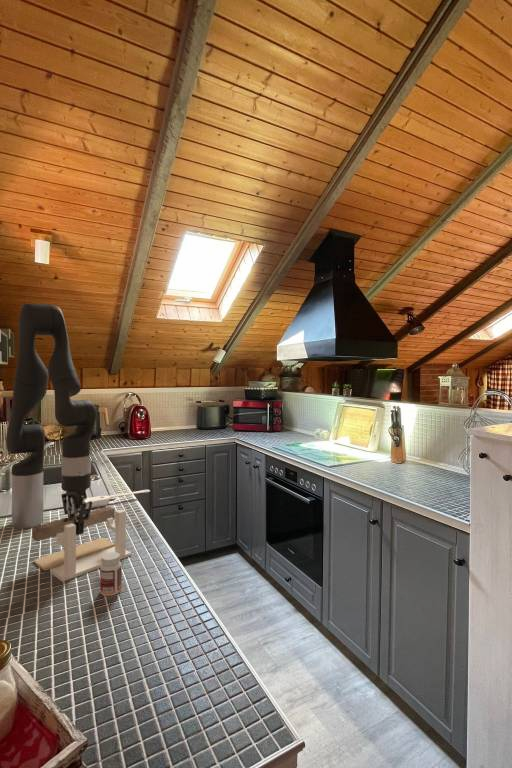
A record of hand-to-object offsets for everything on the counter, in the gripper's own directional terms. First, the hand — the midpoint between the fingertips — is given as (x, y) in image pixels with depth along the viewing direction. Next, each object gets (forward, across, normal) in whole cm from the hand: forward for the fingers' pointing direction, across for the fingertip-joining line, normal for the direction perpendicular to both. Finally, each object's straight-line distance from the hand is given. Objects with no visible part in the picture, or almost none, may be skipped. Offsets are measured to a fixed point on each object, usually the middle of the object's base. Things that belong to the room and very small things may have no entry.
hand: (76, 532), depth 113 cm
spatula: (+6, -32, +31) cm, 46 cm away
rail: (-1, 0, 0) cm, 1 cm away
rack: (+6, +9, 0) cm, 11 cm away
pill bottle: (+6, +25, -4) cm, 26 cm away
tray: (+6, 0, 0) cm, 6 cm away
